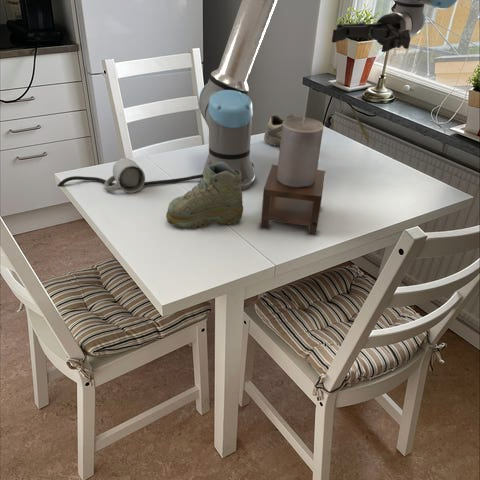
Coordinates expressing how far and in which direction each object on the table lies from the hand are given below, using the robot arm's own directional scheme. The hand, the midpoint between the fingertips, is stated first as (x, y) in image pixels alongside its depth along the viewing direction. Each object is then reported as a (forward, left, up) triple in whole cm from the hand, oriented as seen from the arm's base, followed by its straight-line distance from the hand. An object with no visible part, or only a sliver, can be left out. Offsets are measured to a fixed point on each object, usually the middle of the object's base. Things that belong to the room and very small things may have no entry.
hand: (358, 40), depth 124 cm
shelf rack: (-10, -22, -38) cm, 45 cm away
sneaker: (-31, -30, -38) cm, 58 cm away
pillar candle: (-10, -22, -28) cm, 37 cm away
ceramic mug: (-57, -18, -38) cm, 71 cm away
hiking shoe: (-15, +25, -38) cm, 48 cm away
